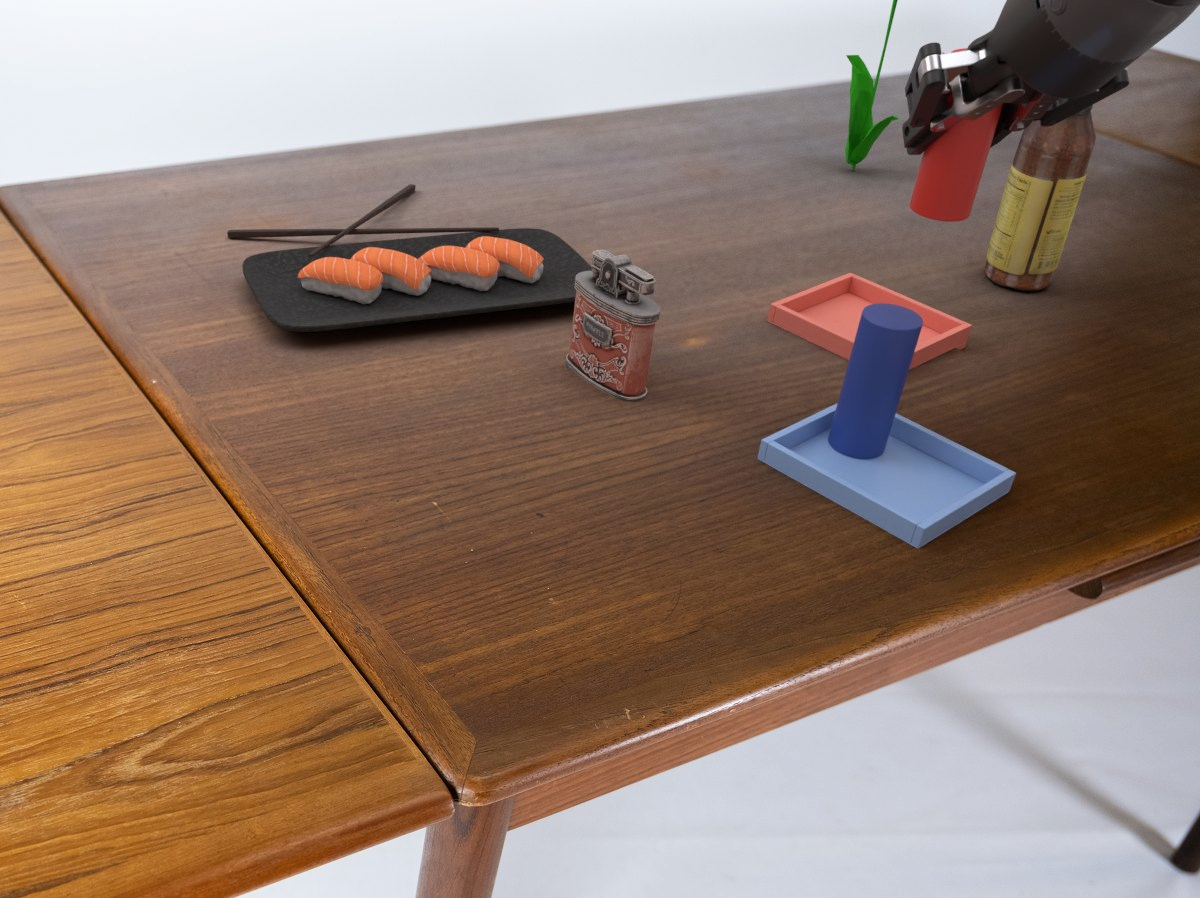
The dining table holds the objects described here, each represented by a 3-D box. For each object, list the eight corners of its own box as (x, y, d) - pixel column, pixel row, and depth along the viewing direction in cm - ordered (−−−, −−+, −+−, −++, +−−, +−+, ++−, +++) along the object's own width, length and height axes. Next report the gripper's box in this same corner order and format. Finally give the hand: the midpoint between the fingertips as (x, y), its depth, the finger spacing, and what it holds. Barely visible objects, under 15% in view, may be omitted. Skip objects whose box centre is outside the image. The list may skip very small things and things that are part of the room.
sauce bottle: (1045, 271, 120) (1124, 50, 108) (1053, 298, 115) (1137, 70, 103) (974, 261, 121) (1044, 40, 109) (979, 287, 116) (1053, 59, 104)
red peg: (980, 213, 87) (1028, 60, 81) (948, 226, 85) (995, 70, 78) (930, 195, 89) (972, 44, 83) (897, 207, 87) (938, 53, 81)
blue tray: (1007, 498, 88) (1016, 472, 87) (915, 555, 82) (924, 528, 81) (849, 418, 96) (856, 393, 94) (755, 465, 89) (761, 439, 88)
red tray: (965, 347, 106) (972, 324, 105) (887, 385, 100) (894, 361, 99) (844, 294, 113) (850, 272, 112) (765, 326, 107) (770, 303, 106)
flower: (905, 173, 139) (991, -141, 121) (870, 190, 134) (953, -134, 116) (835, 151, 143) (907, -156, 125) (798, 167, 138) (868, -150, 120)
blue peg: (895, 448, 91) (935, 319, 85) (862, 465, 89) (901, 335, 83) (849, 424, 94) (885, 297, 87) (816, 441, 91) (850, 312, 85)
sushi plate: (276, 354, 98) (275, 308, 95) (196, 206, 119) (193, 166, 117) (616, 313, 107) (622, 270, 105) (485, 183, 129) (487, 145, 126)
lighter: (554, 366, 99) (568, 243, 93) (588, 356, 101) (604, 234, 94) (621, 412, 94) (640, 285, 88) (656, 401, 96) (677, 276, 89)
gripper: (1212, -69, 71) (1029, 88, 88) (979, -75, 68) (836, 88, 85) (1233, 59, 70) (1044, 193, 87) (998, 58, 67) (850, 196, 84)
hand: (942, 140), depth 86 cm, fingers closed on red peg, 4 cm apart
